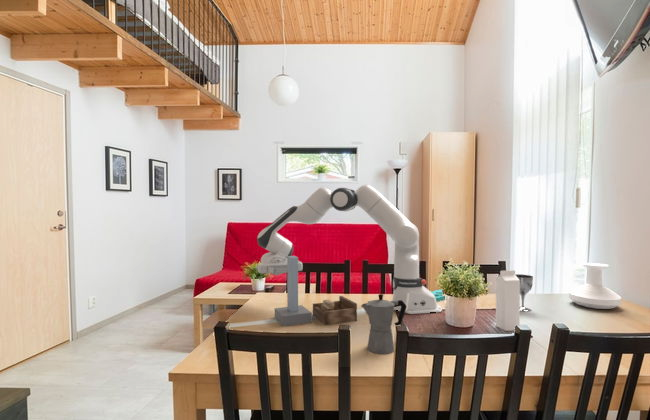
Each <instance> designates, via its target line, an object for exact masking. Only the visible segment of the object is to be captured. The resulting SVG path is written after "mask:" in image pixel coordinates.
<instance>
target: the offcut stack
mask: <svg viewBox="0 0 650 420" xmlns="http://www.w3.org/2000/svg"><path fill="white" fill-rule="evenodd" d="M322 303H323V305H321V310H323V311H324V312H325V311H333V310H334V302H332V300H330V299H324V300H323V299H322Z"/></svg>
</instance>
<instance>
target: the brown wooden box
mask: <svg viewBox="0 0 650 420" xmlns="http://www.w3.org/2000/svg"><path fill="white" fill-rule="evenodd" d="M331 301H332V300H331ZM332 302H334V310H333V311H325V312H324V311H323V310H321V305H323V302H317V303H312V317H315V318H316V319H317V320H318V321H320V322H321V323H322V324H324V325H325V326H327V325H336V324H343V323H350V322H357V320H358V318H357V317H358V314H357V313H358V303H356V302H354V301H353V300H351V299H349V298H347V297H345V296H343V295H340V296H339V300H335V301H334V300H333V301H332Z"/></svg>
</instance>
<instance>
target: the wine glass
mask: <svg viewBox="0 0 650 420" xmlns="http://www.w3.org/2000/svg"><path fill="white" fill-rule="evenodd" d="M515 275H516V276H517V277H518V279H519V280H520V297H521V298H520V299H521V305H520V312H532V309H531V308H529V307H525V297H526V295H527V294H528V293H529V292H530V291H531V290H532V288H533V283H534V276H532V275H530V274H529V275H528V274H524V273H523V274H521V273H520V274H517V273H515Z"/></svg>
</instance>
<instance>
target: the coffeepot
mask: <svg viewBox="0 0 650 420" xmlns="http://www.w3.org/2000/svg"><path fill="white" fill-rule="evenodd" d="M383 298H384V294H383V293H379V294H378V299H374V300H369V301H367V302H365V303H363V304H361V306H360V307H361V308H363V310H364V311H365V313H366V316H367V317H368V321H369V322H368V323H369V325H370V328H369V336H368V342H367V347H366V349H367V350H368V351H369V352H370V353H372V354H378V355H388V354H391V353H394V352H395V343H394V338H393V332H392V323H394V325H395V326H400V325H402V322H403V320H404V316H405V314H406V313H405V310H406V304H405V303H404V302H403V301H402V300H398V301H392V300H391V301H390V300H387V299H383ZM397 306H401V309H400V311H399V315H398V318H397V319H398V320H397V322H393V317H394V311H395V310H394V307H397Z"/></svg>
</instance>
